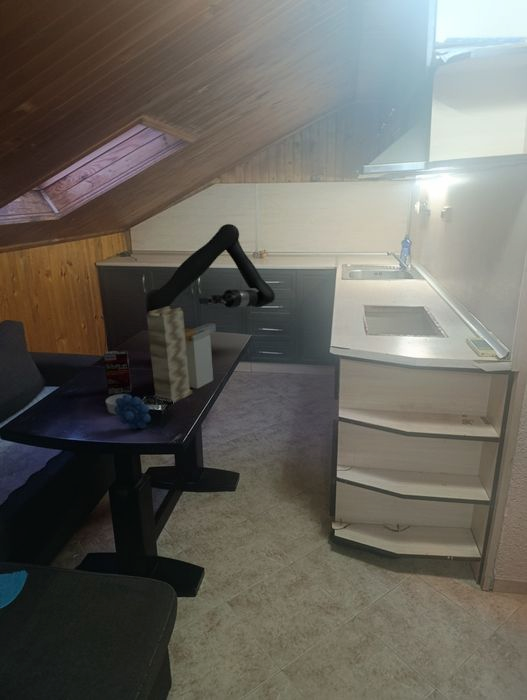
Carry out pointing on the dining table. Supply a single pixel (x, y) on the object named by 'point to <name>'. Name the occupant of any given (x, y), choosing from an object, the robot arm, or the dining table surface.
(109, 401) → the ramekin
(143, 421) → the grapes
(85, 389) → the dining table surface
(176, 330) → the stand
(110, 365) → the supplement box
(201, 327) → the block
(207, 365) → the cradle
